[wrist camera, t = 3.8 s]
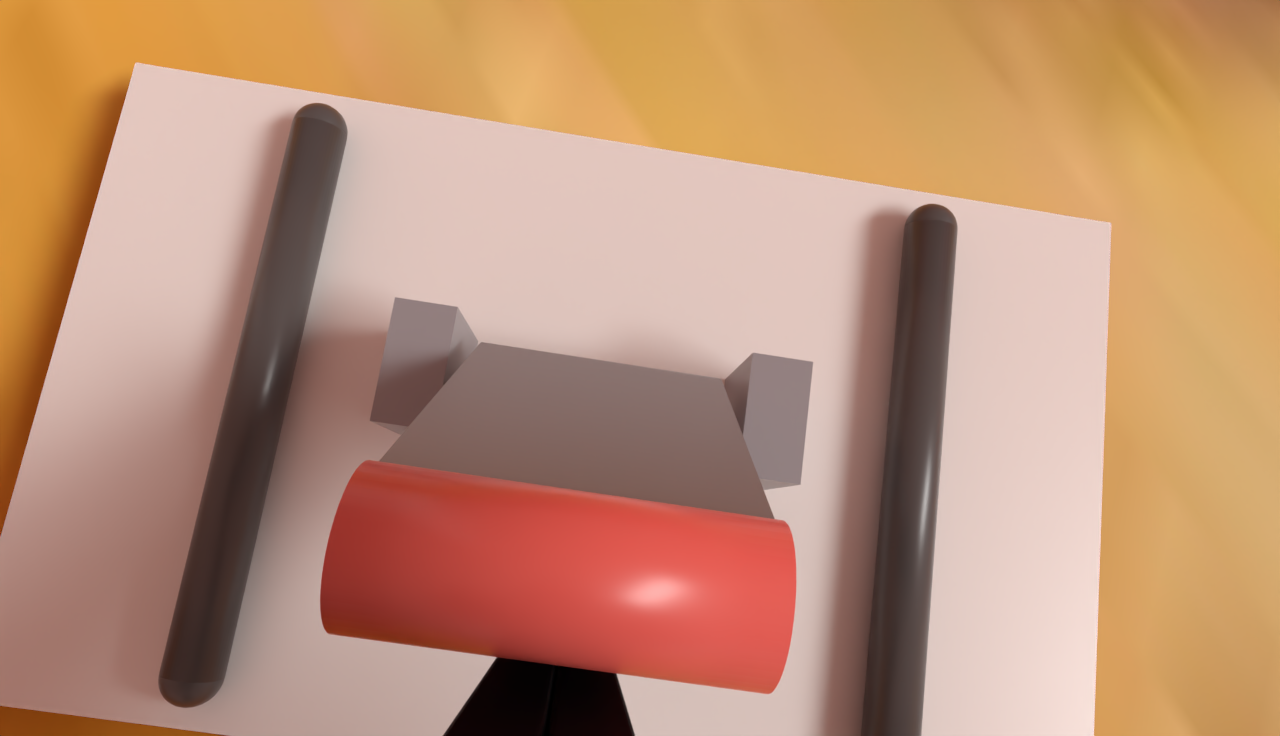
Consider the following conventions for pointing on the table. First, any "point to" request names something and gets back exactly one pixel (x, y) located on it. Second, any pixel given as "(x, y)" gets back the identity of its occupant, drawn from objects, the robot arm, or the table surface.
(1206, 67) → the table surface
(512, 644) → the lever
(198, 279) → the plate
